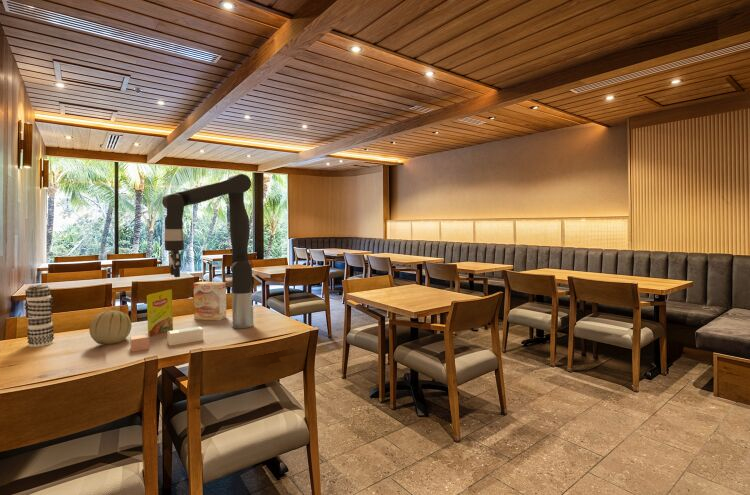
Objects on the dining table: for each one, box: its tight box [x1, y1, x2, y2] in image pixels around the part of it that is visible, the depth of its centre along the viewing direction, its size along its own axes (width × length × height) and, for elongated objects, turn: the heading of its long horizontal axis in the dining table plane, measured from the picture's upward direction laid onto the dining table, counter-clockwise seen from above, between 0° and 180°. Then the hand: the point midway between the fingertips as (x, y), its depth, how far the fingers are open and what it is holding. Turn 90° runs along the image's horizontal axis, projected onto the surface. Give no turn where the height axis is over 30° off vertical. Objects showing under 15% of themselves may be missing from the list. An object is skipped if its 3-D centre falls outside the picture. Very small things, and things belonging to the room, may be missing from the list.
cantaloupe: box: [88, 307, 132, 346], centre depth 164 cm, size 15×15×15 cm
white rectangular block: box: [166, 326, 204, 346], centre depth 165 cm, size 13×5×5 cm, turn 126°
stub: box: [129, 333, 150, 353], centre depth 155 cm, size 6×5×5 cm
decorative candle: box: [24, 284, 55, 348], centre depth 164 cm, size 9×9×25 cm
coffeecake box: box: [193, 281, 227, 321], centre depth 207 cm, size 15×7×20 cm, turn 80°
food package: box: [146, 289, 174, 338], centre depth 177 cm, size 15×1×20 cm, turn 168°
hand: (175, 276), depth 171 cm, fingers open, 8 cm apart
